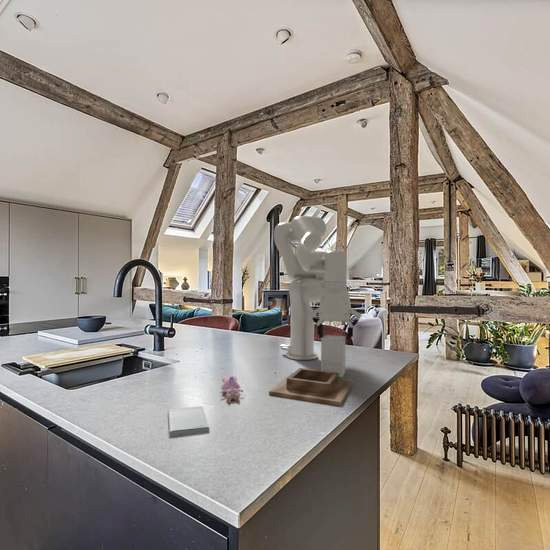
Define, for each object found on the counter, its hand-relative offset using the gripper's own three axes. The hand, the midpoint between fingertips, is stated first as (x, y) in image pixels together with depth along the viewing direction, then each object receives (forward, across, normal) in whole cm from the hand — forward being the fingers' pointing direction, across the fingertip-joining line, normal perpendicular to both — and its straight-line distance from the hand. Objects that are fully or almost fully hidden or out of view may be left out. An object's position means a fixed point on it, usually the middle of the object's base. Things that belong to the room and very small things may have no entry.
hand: (335, 338), depth 120 cm
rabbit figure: (+13, -23, -31) cm, 40 cm away
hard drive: (+14, -23, -51) cm, 58 cm away
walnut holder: (+13, -3, -17) cm, 22 cm away
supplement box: (+13, -1, +1) cm, 13 cm away
